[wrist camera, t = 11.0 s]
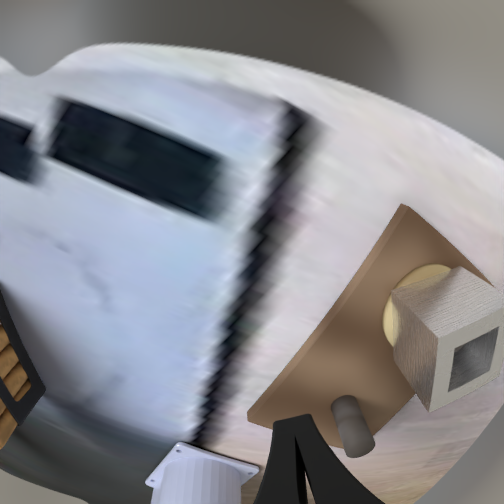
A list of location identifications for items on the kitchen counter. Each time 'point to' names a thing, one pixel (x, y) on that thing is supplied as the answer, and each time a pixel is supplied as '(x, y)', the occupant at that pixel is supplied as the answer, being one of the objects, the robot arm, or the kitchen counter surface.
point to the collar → (448, 335)
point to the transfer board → (360, 343)
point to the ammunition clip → (15, 378)
